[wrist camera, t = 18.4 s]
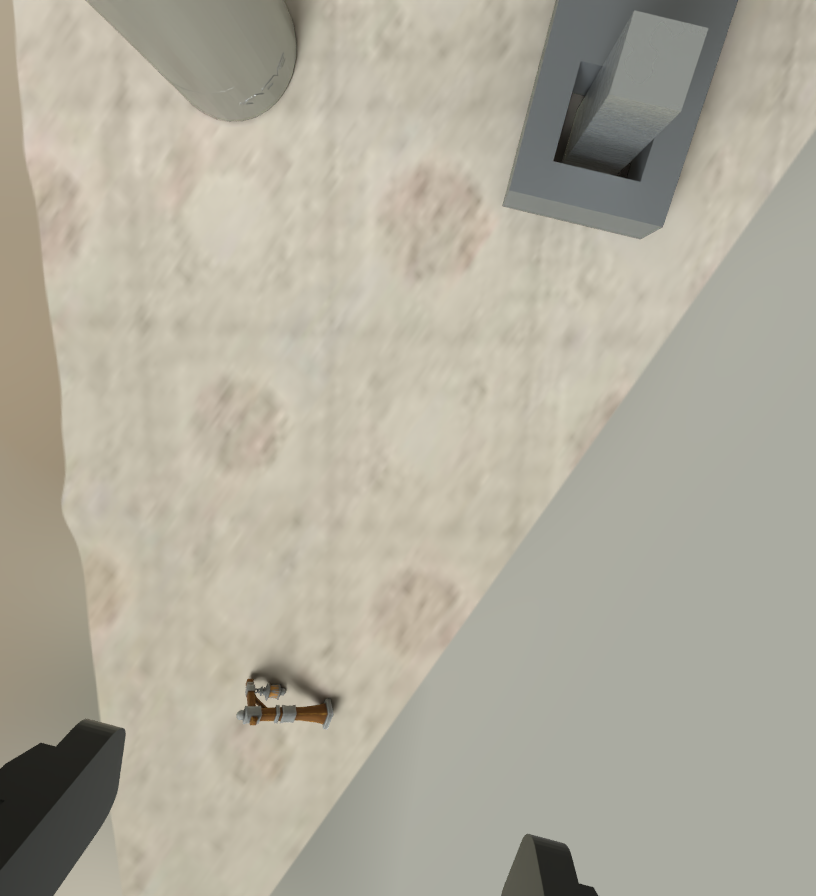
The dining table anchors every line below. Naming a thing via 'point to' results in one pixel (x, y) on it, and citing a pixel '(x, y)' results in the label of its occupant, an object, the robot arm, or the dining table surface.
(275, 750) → the dining table surface
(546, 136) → the holder
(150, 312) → the dining table surface
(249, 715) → the brown lamp post
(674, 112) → the grey square peg
